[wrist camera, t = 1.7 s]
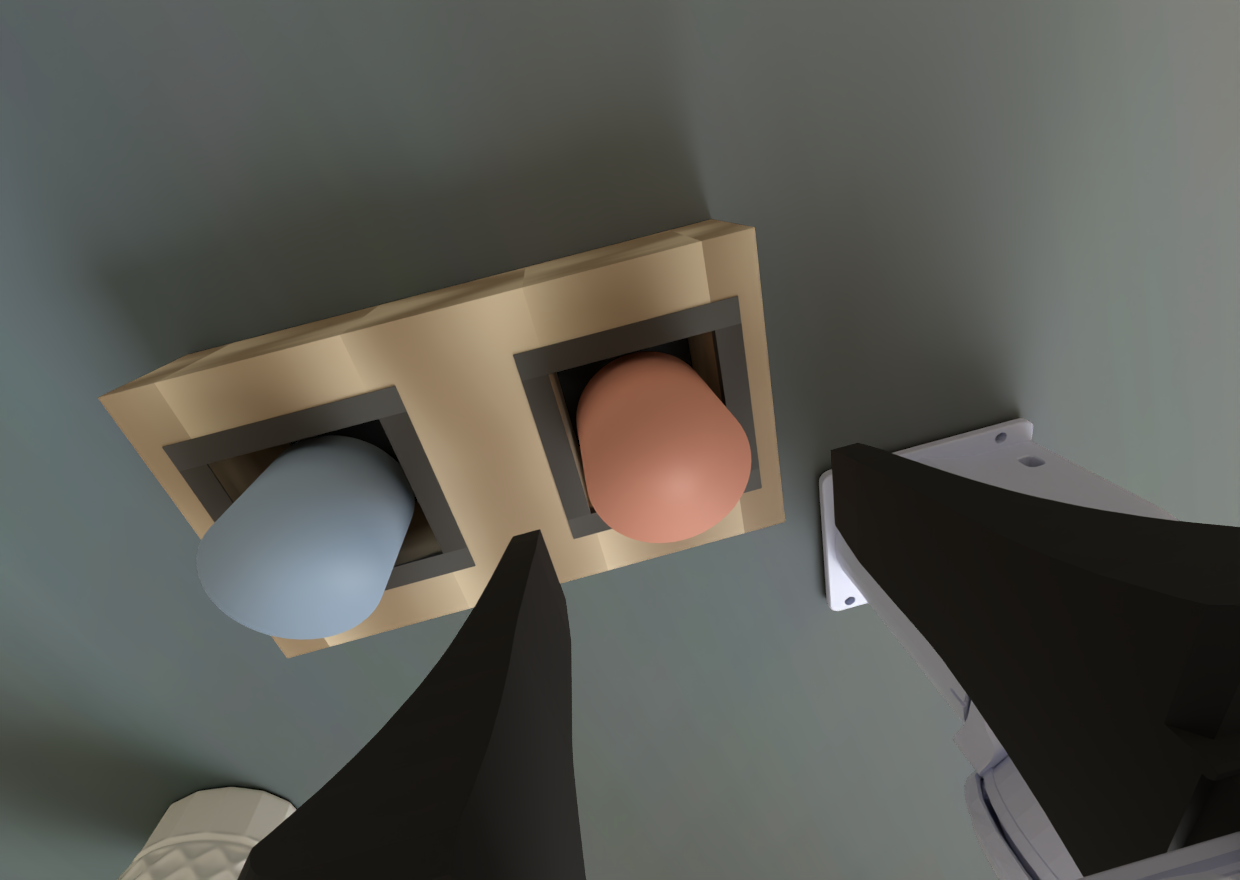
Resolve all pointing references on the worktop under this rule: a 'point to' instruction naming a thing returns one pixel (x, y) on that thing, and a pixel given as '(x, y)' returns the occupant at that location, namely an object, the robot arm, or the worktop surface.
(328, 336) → the peg block
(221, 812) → the white cup
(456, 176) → the worktop surface
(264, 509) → the blue peg
